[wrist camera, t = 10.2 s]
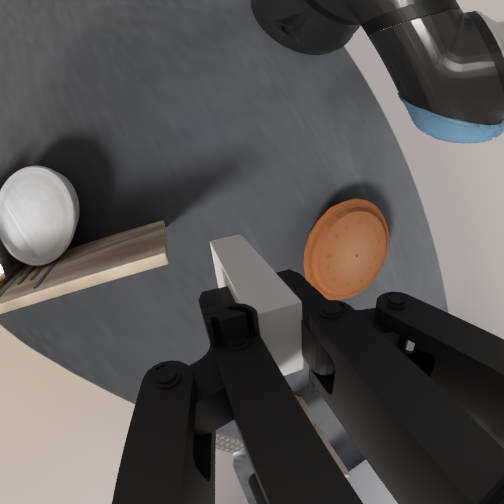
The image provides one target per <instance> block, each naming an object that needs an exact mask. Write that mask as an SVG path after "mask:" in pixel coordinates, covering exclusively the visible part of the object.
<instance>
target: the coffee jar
mask: <svg viewBox="0 0 504 504" xmlns="http://www.w3.org/2000/svg"><path fill="white" fill-rule="evenodd" d="M249 485H250V488H251V490H252V493H253V495H254V497H255V500H256V502H257V504H268V503H267V501H266V499H265V497H264V494H263V492H262V490H261V487H260V485H259V482H258V480H257V478H256V475H255V473H254V474H253V475H251V477H250V479H249Z"/></svg>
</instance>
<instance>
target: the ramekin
mask: <svg viewBox="0 0 504 504" xmlns="http://www.w3.org/2000/svg"><path fill="white" fill-rule="evenodd" d="M79 209H80V208H79V201H78V197H77V194H76V191H75V189H74V187H73V186H72V184H71V183H70V181H69V180H68V179H67V178H66V177H65V176H63V175H62V174H60V173H58V172H56V171H54V170H52V169H50V168H48V167H44V166H29V167H25V168H22V169H20V170H18V171H16V172H15V173H14V174H13V175H11V176H10V177H9V178H8V180H7V181H6V182H5V183H4V185H3V186H2V188H1V190H0V238H1V240H2V242H3V244H4V246H5V247H6V249H7V250H8V251H9V252H10V254H11V255H13V256H14V257H15V258H16V259H17V260H19V261H21V262H23V263H25V264H28V265H33V266H41V265H45V264H49V263H51V262H53V261H55V260H56V259H57V258H59V257H60V256H61V255H62V254H63V253H64V252H65V250H66V249H67V248H68V246H69V245H70V243H71V241H72V238H73V236H74V233H75V229H76V226H77V223H78V219H79Z"/></svg>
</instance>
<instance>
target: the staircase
mask: <svg viewBox="0 0 504 504" xmlns="http://www.w3.org/2000/svg"><path fill="white" fill-rule="evenodd" d="M294 395H295V394H294ZM295 396H296V395H295ZM296 398H297V400H298V401H299V403H300V405H301V406H302V408H303V410H304V411H305V413H306V415H307V416H308V418H309V420H310V421H311V423H312V425H313V426H314V428H315V429H316V431H317V433H318V434H319V436H320V438H321V439H322V441H323V442H324V444H325V446H326V447H327V449H328V450H329V452H330V454H331V455H332V457H333V458H334V460H335V461H336V463H337V465H338V466H339V468H340V469H341V471H342V472H343V474H344V476H345V477H346V478H347V477H349V476H350V474H349V472H348V470H347V469H346V467H345V466H344V464H343V463H342V461H341V460H340V458H339V457H338V455H337V454H336V452H335V451H334V449H333V448H332V446H331V445H330V443H329V442H328V440H327V439H326V437H325V436H324V431H323V430H322V428H321V427H320V425H319V424H318V422H317V421H316V419H315V417H314V416H313V414H312V413H311V411H310V410H309V408H308V407H307V405H306V403H305V402H304V400H303V399H302V397H301V396H300V397H298V396H296Z"/></svg>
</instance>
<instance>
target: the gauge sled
mask: <svg viewBox="0 0 504 504" xmlns="http://www.w3.org/2000/svg"><path fill="white" fill-rule="evenodd" d="M0 190H1V189H0ZM22 264H23V262H21V261H19V260H17V259H16V258H15V257H14V256H13V255H11V254H10V252H9V251H8V250H7V249H6V247H5V246H4V244H3V242H2V240H1V238H0V287H1V286H2V285H3V284H4V283H5V282H6V281H7V280H8V279H9V278H10V277H11V275H12V274H13V273H14V272H15V271H16V270H17V269H18V268H19V267H20V266H21V265H22Z"/></svg>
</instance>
